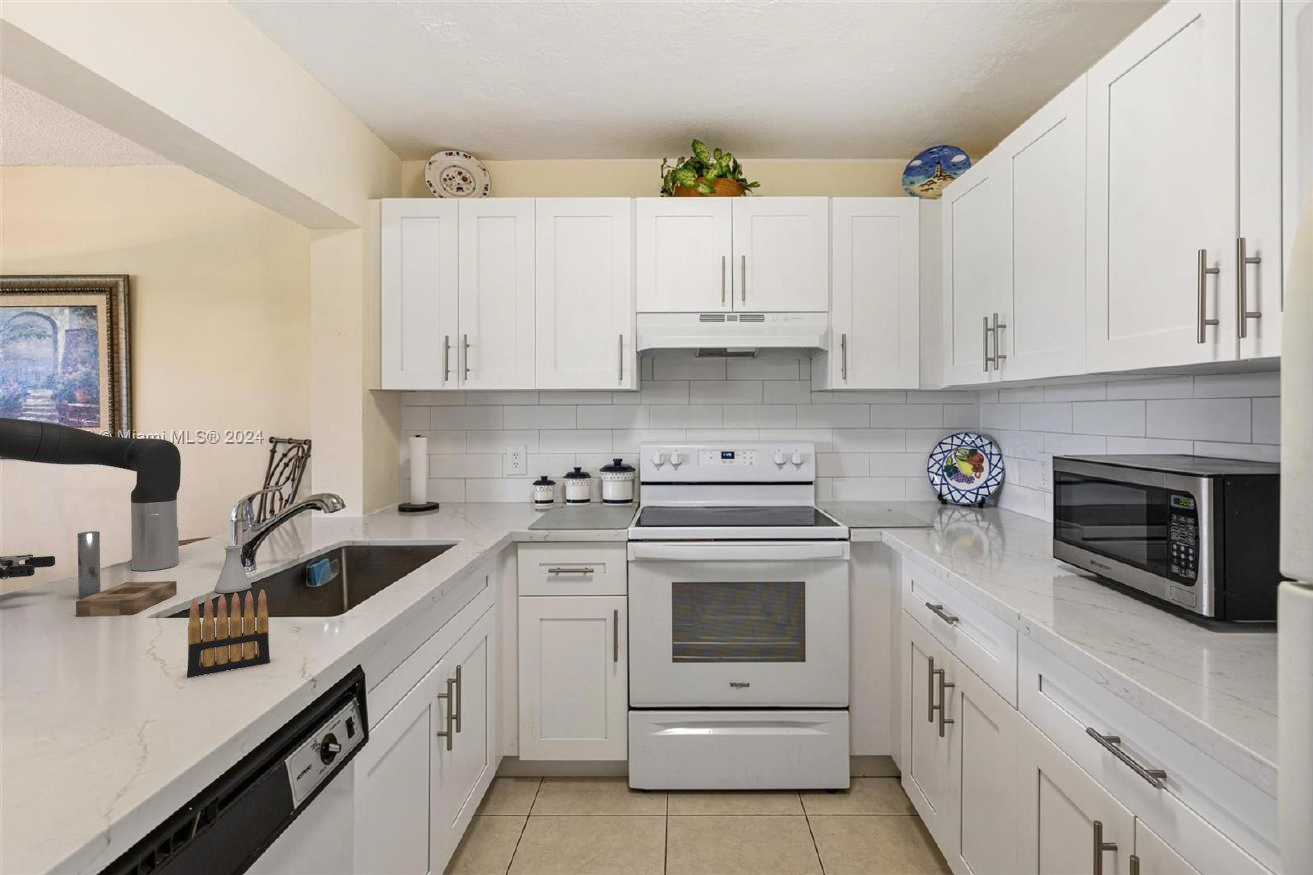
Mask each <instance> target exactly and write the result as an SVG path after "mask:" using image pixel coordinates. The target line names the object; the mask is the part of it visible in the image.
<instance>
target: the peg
mask: <svg viewBox="0 0 1313 875" xmlns="http://www.w3.org/2000/svg"><path fill="white" fill-rule="evenodd" d="M76 536H77V576H78V577H77V580H78V581H77V582H78V583H77V585H78V588H77V590H78V591H77V592H78V600H81V599H83V598H86V597H89V596H91V595H94V594H97V593H99V592H101V554H100V551H101V546H100V544H101V543H100V542H101V541H100V539H101V538H100V537H101V536H100V531H96V530H95V531H93V530H92V531H83V532H78V533H77V535H76Z"/></svg>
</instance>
